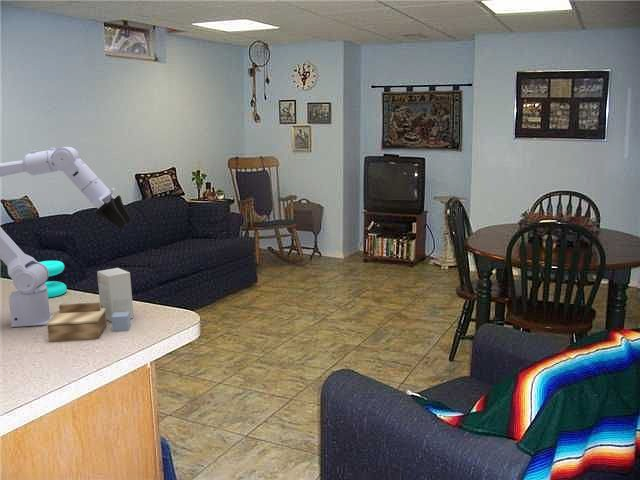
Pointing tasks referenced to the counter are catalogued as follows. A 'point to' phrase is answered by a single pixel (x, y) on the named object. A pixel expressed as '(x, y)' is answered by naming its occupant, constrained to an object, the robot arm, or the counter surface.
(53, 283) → the donuts
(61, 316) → the lid
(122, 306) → the small box
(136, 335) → the counter surface
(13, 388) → the counter surface
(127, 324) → the block
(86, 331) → the wooden box
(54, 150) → the robot arm
